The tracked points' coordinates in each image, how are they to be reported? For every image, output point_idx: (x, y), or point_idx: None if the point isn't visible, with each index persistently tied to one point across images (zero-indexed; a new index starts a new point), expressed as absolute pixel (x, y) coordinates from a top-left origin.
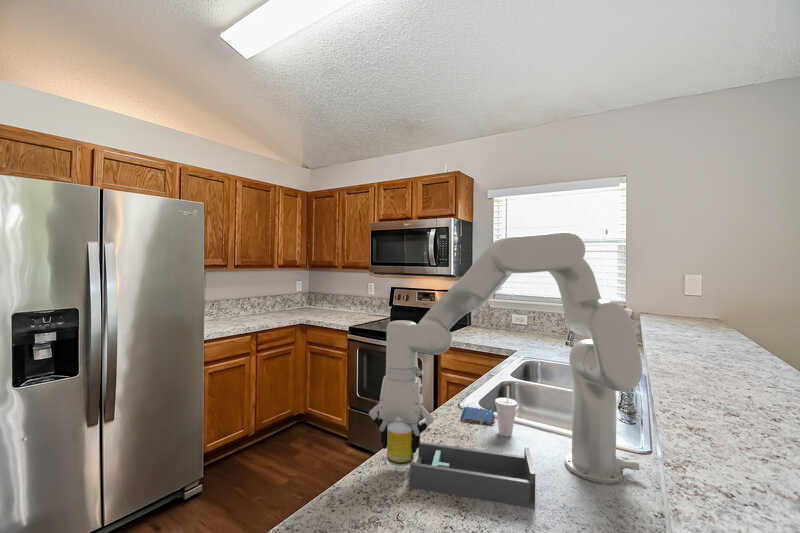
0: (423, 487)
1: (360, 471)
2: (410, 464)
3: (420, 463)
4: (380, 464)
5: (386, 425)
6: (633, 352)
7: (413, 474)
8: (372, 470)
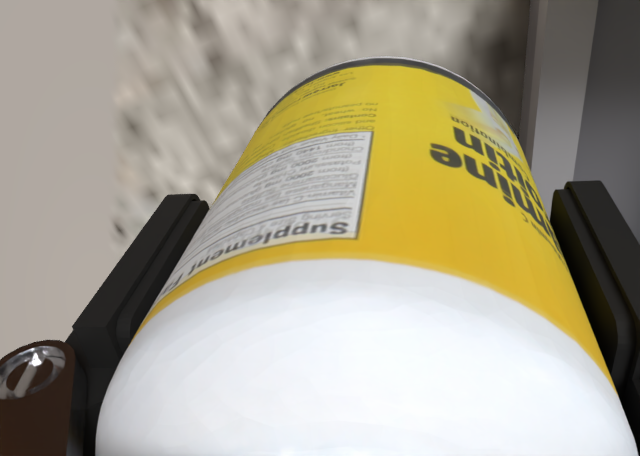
0: None
1: (115, 224)
2: None
3: (584, 85)
4: (191, 93)
5: (90, 430)
6: None
7: None
8: (180, 190)
